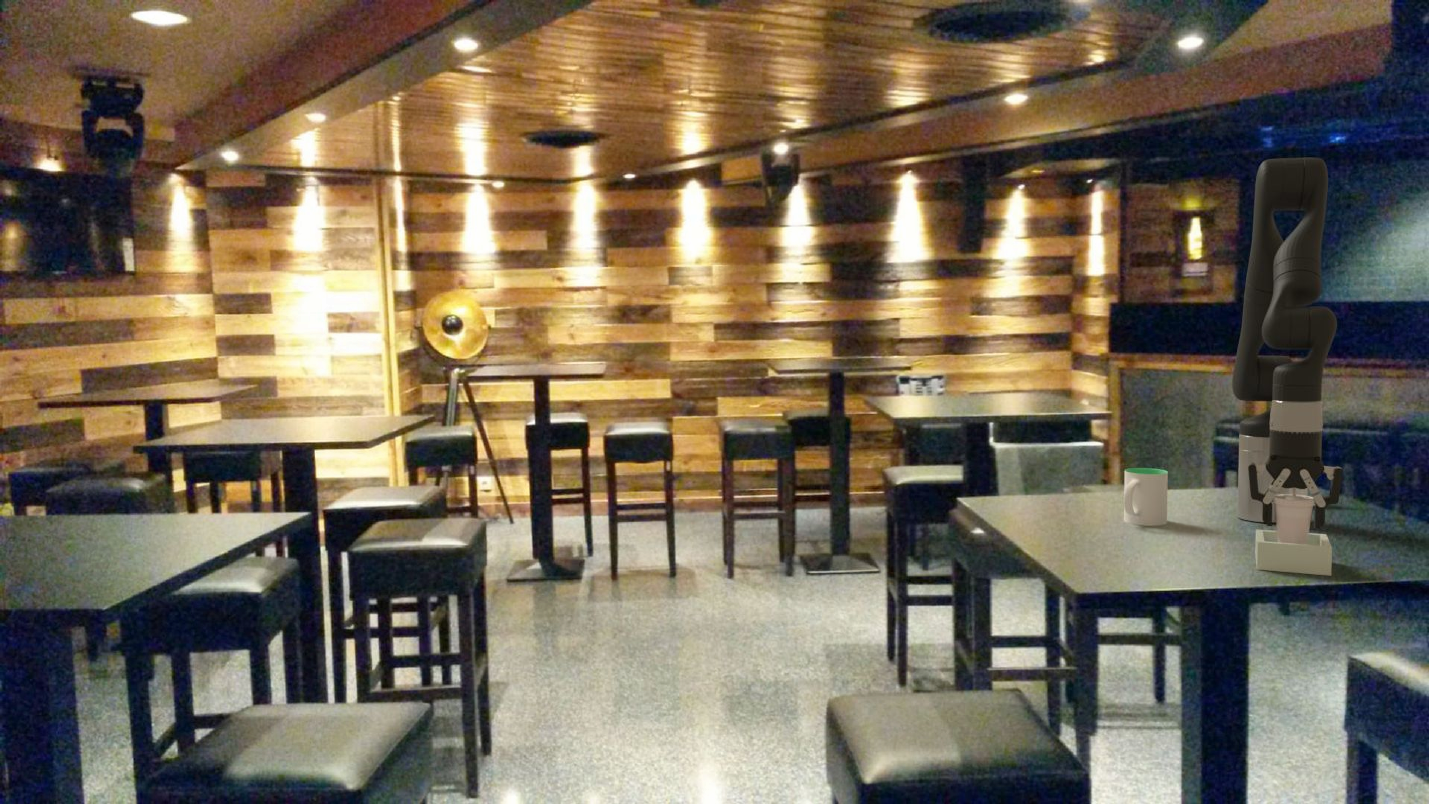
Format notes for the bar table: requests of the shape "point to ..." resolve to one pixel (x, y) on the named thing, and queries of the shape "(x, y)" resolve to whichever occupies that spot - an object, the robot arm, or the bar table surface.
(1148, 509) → the mug
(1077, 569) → the bar table surface
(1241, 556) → the bar table surface
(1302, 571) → the bin
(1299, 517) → the smoothie
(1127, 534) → the bar table surface
